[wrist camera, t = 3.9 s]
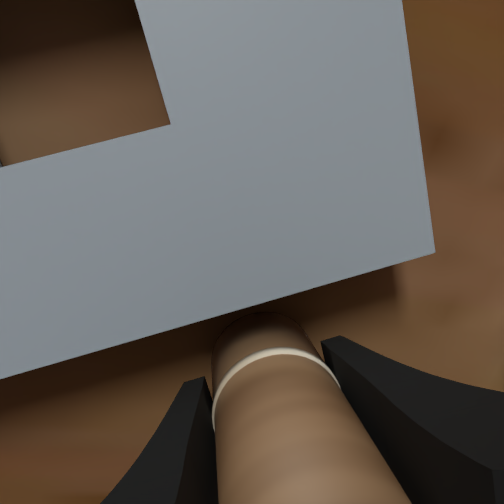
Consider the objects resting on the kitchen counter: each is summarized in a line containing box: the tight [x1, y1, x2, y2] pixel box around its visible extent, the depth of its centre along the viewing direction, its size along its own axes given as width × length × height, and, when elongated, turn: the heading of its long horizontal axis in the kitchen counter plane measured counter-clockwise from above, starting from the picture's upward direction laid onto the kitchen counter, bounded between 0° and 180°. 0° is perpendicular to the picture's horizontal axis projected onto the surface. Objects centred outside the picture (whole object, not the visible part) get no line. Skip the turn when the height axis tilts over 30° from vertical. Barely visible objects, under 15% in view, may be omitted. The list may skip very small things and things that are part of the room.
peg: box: [211, 312, 412, 504], centre depth 9 cm, size 4×4×7 cm
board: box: [0, 0, 435, 379], centre depth 9 cm, size 14×16×2 cm
